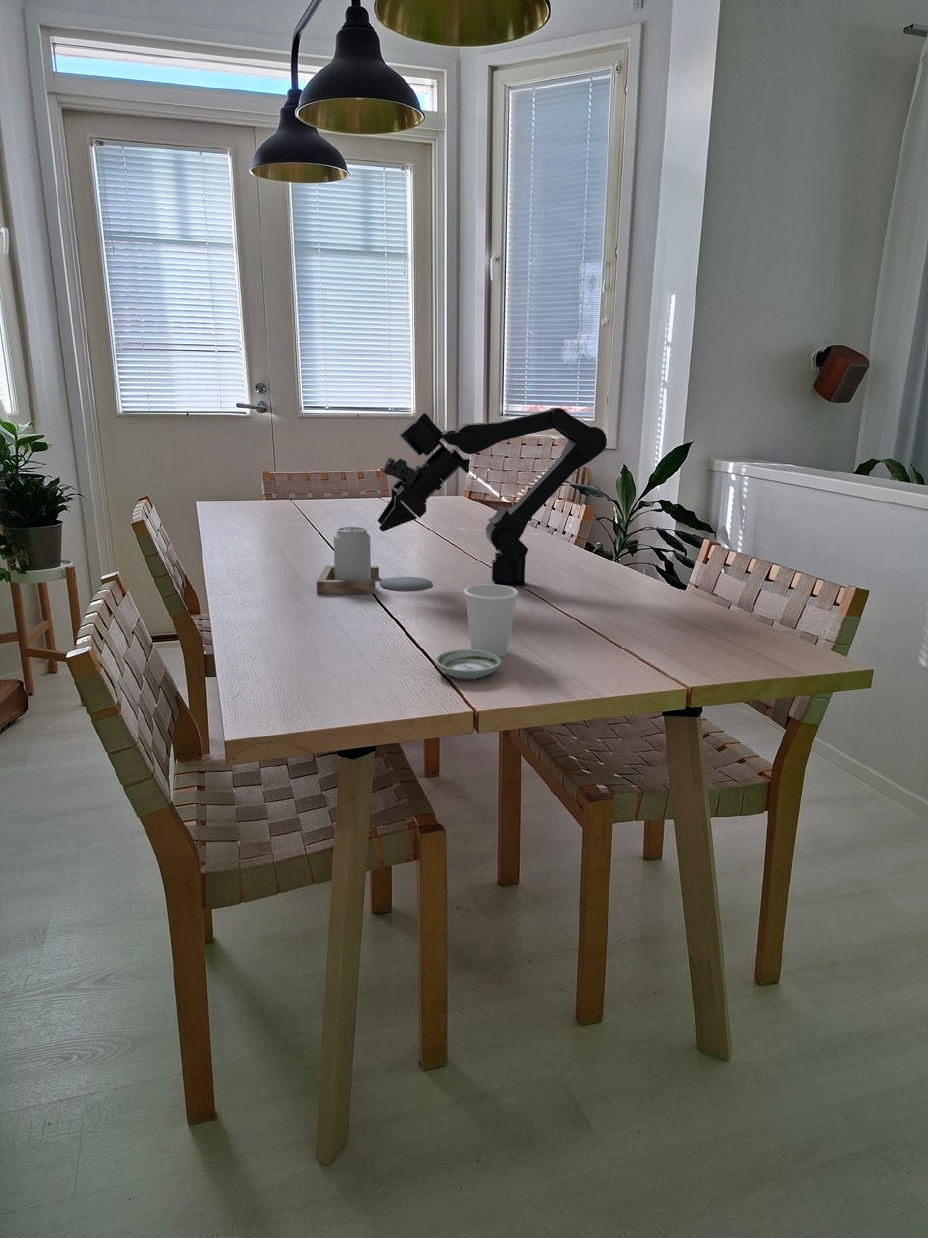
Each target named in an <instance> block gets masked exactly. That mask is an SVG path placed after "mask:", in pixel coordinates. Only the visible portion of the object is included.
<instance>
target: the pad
mask: <svg viewBox="0 0 928 1238" xmlns="http://www.w3.org/2000/svg"><path fill="white" fill-rule="evenodd" d="M379 586H380V587H381V588H383V589H386V590H391V591H398V590H406V591H405V592H408V591H409V592H411V591H410V590H415V591H421V590H426V589H430V588H432V586H433V582H432V580H430V579H427V578H424V577H423V578H422V577H419V576H418V577H416V576H415V577H414V576H396V577H389V578H388V577H387V578H385V579H382V580H380V581H379Z"/></svg>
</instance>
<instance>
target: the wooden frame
mask: <svg viewBox="0 0 928 1238" xmlns="http://www.w3.org/2000/svg"><path fill="white" fill-rule="evenodd" d="M379 578H380V566H379V565H378V566H377V565H371V580H335V567H334V565H325V566H324V567H323V570H322V572H321V573H320V575H319V577H318V579H317V580H316V594H318V595H376V580H379Z"/></svg>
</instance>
